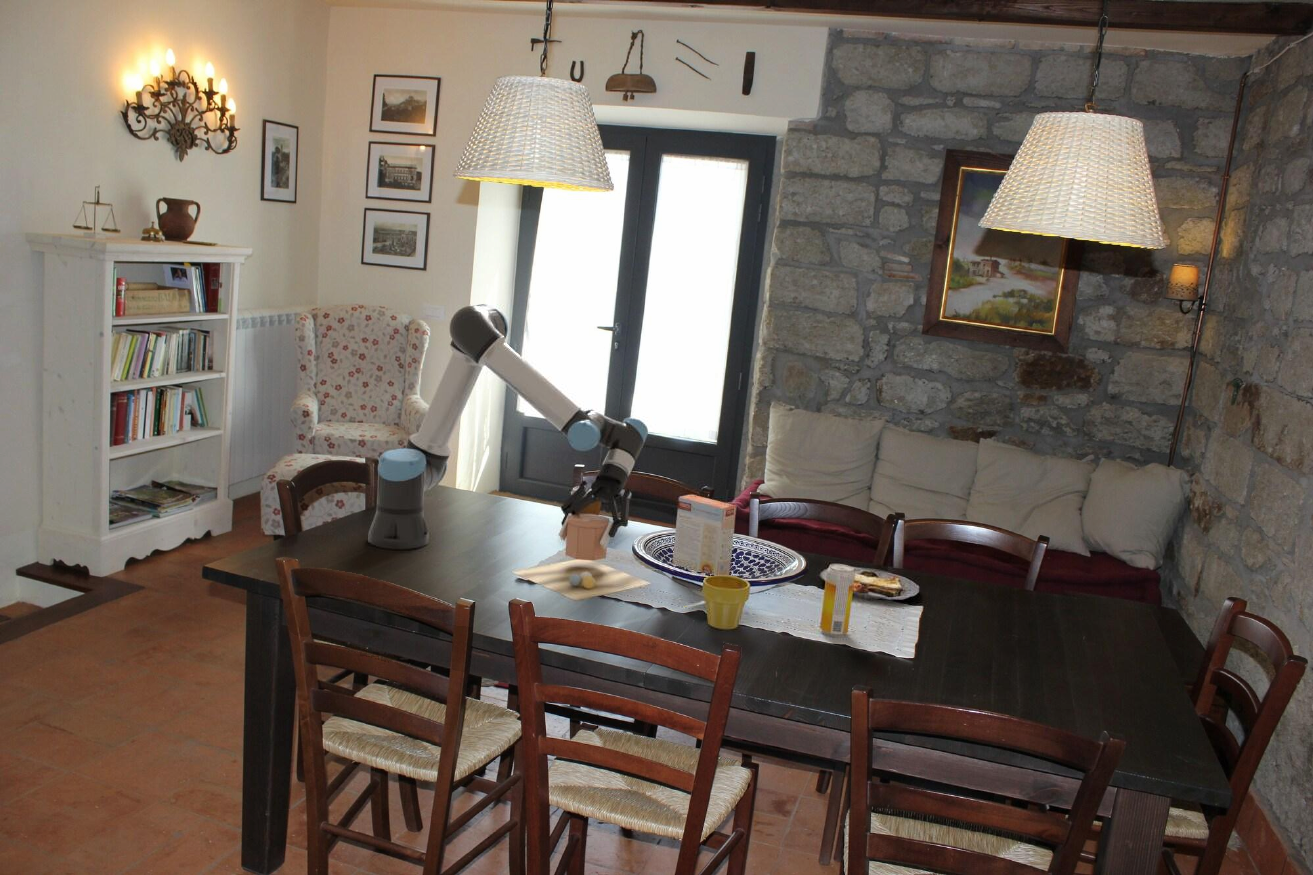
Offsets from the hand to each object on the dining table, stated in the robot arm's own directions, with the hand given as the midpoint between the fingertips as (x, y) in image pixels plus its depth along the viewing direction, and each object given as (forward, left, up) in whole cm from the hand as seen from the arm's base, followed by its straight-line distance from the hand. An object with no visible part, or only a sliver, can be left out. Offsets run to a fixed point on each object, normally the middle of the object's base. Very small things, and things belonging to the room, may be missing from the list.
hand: (581, 542), depth 244 cm
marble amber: (+12, -8, -7) cm, 16 cm away
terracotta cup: (-1, +3, -4) cm, 5 cm away
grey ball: (+9, -9, -7) cm, 15 cm away
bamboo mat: (+5, -4, -8) cm, 10 cm away
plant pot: (+44, +3, -8) cm, 45 cm away
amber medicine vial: (+61, +21, -8) cm, 65 cm away
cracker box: (+21, +21, -8) cm, 31 cm away
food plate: (+47, +57, -8) cm, 75 cm away
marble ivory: (+9, -6, -7) cm, 13 cm away
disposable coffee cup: (-29, +27, -8) cm, 41 cm away
